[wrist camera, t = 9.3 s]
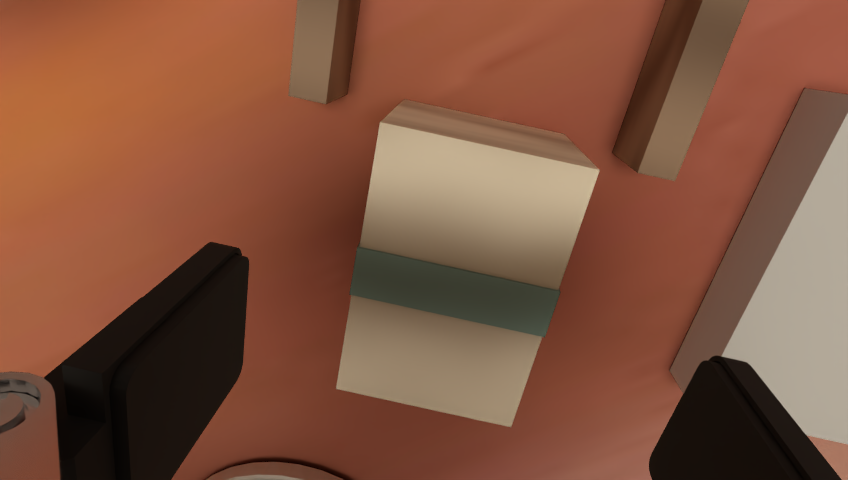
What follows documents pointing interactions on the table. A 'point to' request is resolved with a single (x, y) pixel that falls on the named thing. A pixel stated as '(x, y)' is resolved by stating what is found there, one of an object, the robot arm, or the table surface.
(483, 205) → the parcel
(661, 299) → the table surface
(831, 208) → the plate
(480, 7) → the table surface
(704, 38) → the shelf bay
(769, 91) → the table surface
